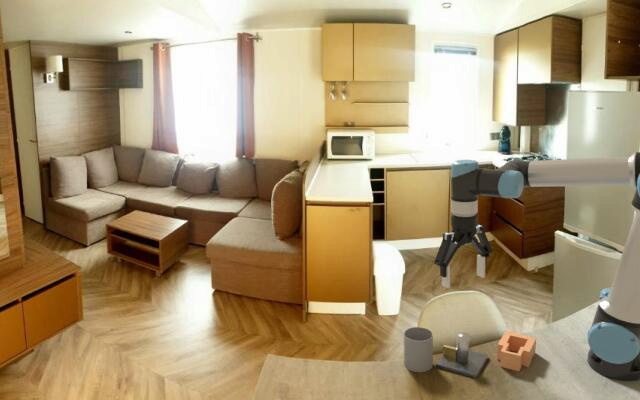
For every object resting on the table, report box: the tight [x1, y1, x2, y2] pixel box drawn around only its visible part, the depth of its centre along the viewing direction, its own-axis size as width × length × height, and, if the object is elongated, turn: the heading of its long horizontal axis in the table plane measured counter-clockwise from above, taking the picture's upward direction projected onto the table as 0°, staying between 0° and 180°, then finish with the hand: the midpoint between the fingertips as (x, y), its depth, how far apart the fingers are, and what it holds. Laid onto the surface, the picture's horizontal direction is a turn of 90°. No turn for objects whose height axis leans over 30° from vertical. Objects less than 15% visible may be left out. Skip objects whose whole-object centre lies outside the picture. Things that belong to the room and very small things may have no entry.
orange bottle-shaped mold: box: [496, 330, 537, 372], centre depth 160 cm, size 12×9×5 cm
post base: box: [435, 331, 489, 379], centre depth 158 cm, size 12×12×9 cm
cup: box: [403, 326, 434, 373], centre depth 158 cm, size 8×8×10 cm
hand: (463, 281), depth 161 cm, fingers open, 13 cm apart
